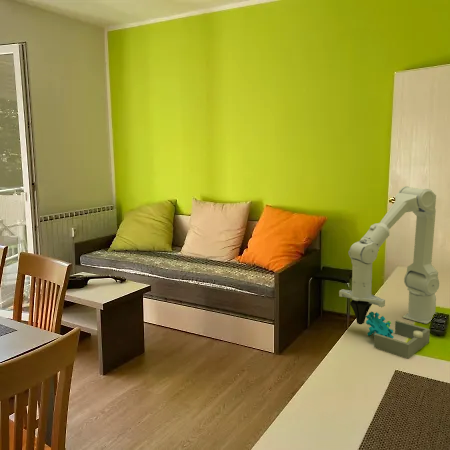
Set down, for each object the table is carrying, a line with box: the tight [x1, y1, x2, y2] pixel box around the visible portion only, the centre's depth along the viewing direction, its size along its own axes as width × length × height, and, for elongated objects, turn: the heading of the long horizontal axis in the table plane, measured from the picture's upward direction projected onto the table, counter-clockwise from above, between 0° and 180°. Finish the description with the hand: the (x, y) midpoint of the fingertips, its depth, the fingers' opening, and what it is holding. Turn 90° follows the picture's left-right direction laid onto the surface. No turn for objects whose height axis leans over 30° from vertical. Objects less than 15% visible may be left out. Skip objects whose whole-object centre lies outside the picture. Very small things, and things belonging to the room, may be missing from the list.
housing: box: [373, 319, 431, 359], centre depth 131 cm, size 14×11×5 cm
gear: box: [365, 311, 395, 339], centre depth 137 cm, size 11×6×10 cm
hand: (360, 323), depth 140 cm, fingers closed
